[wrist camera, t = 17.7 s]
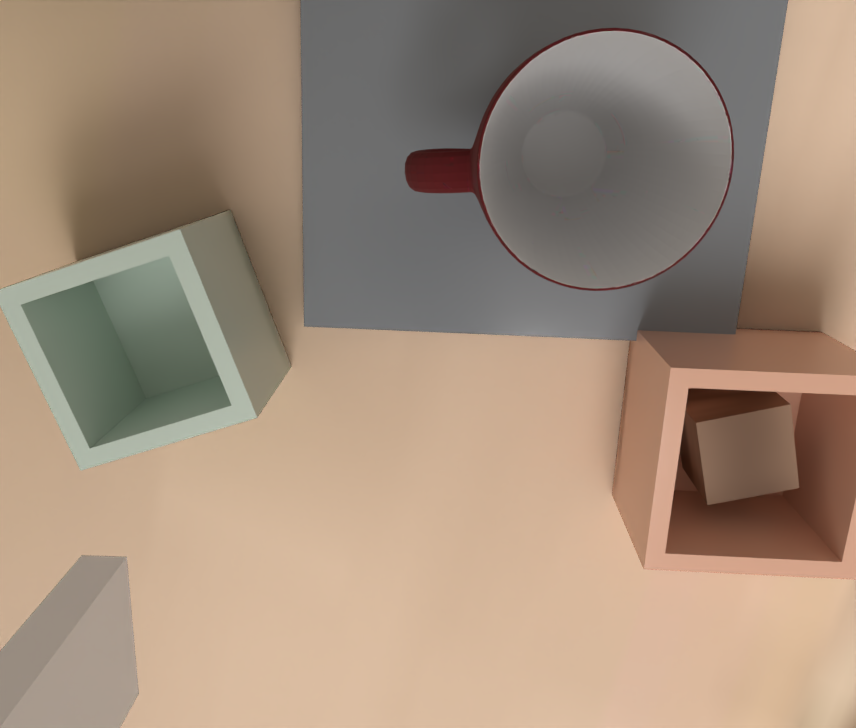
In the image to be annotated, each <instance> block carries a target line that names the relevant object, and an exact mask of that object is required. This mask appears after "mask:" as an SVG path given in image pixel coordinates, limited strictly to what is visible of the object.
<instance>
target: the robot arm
mask: <svg viewBox="0 0 856 728" xmlns="http://www.w3.org/2000/svg"><path fill="white" fill-rule="evenodd" d="M138 694H139V690H138V679H137V668H136V656H135V645H134V633H133V622H132V610H131V599H130V587H129V576H128V564H127V557H116V556H89V555H82V556H81V557H80V558H79V559H78V560H77V562H76V563H75V564H74V565H73V566H72V567H71V569H70V570H69V571H68V572H67V573H66V574H65V576H64V577H63V578H62V579H61V580H60V581H59V583H58V584H57V585H56V586H55V587H54V588H53V590H52V591H51V592H50V593H49V594H48V595H47V597H46V598H45V599H44V600H43V601H42V602H41V604H40V605H39V606H38V607H37V608H36V610H35V611H34V612H33V613H32V614H31V615H30V617H29V618H28V619H27V620H26V621H25V622H24V624H23V625H22V626H21V627H20V628H19V629H18V631H17V632H16V633H15V634H14V635H13V636H12V638H11V639H10V640H9V641H8V642H7V643H6V645H5V646H4V647H3V648H2V649H1V650H0V728H120V727H121V725H122V723H123V722H124V720H125V718H126V716H127V714H128V712H129V710H130V709H131V707H132V705H133V703H134V701H135V699H136V698H137V696H138Z"/></svg>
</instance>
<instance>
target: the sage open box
mask: <svg viewBox="0 0 856 728" xmlns="http://www.w3.org/2000/svg"><path fill="white" fill-rule="evenodd" d="M0 307H1V309H2V311H3V313H4V315H5V317H6V319H7V321H8V323H9V325H10V327H11V329H12V331H13V333H14V335H15V337H16V339H17V341H18V343H19V346H20V348H21V350H22V352H23V354H24V356H25V358H26V360H27V362H28V364H29V366H30V368H31V370H32V372H33V374H34V376H35V378H36V380H37V382H38V384H39V386H40V388H41V391H42V393H43V395H44V397H45V399H46V401H47V403H48V405H49V407H50V409H51V411H52V413H53V415H54V417H55V419H56V421H57V423H58V425H59V427H60V429H61V431H62V433H63V436H64V438H65V440H66V442H67V444H68V446H69V448H70V450H71V452H72V454H73V456H74V458H75V460H76V462H77V464H78V466H79V468H80V470H85V469H88V468H91V467H95V466H98V465H101V464H105V463H108V462H111V461H115V460H118V459H121V458H125V457H128V456H131V455H135V454H138V453H141V452H145V451H148V450H151V449H155V448H158V447H161V446H165V445H168V444H171V443H175V442H178V441H181V440H185V439H188V438H191V437H195V436H198V435H201V434H205V433H208V432H211V431H215V430H218V429H221V428H225V427H228V426H231V425H235V424H238V423H241V422H245V421H248V420H251V419H255V418H257V417H258V416H259V414H260V413H261V411H262V410H263V408H264V407H265V405H266V404H267V402H268V401H269V399H270V398H271V396H272V395H273V393H274V392H275V390H276V389H277V388H278V386H279V385H280V383H281V382H282V380H283V379H284V377H285V376H286V374H287V373H288V371H289V370H290V368H291V364H290V362H289V359H288V356H287V354H286V351H285V349H284V346H283V344H282V341H281V339H280V336H279V333H278V331H277V328H276V326H275V323H274V321H273V318H272V315H271V313H270V310H269V308H268V305H267V303H266V300H265V297H264V295H263V292H262V290H261V287H260V285H259V282H258V279H257V277H256V274H255V272H254V269H253V267H252V264H251V261H250V259H249V256H248V254H247V251H246V249H245V246H244V243H243V241H242V238H241V236H240V233H239V231H238V228H237V226H236V223H235V220H234V218H233V215H232V213H231V210H228V211H225V212H222V213H219V214H216V215H213V216H210V217H207V218H204V219H201V220H198V221H195V222H192V223H189V224H187V225H184V226H181V227H178V228H175V229H172V230H169V231H166V232H163V233H160V234H157V235H154V236H151V237H148V238H145V239H142V240H139V241H136V242H133V243H130V244H127V245H124V246H121V247H118V248H115V249H112V250H109V251H106V252H103V253H100V254H97V255H94V256H91V257H88V258H85V259H82V260H79V261H76V262H73V263H71V264H68V265H65V266H62V267H60V268H57V269H54V270H51V271H49V272H46V273H43V274H40V275H38V276H35V277H32V278H29V279H27V280H24V281H21V282H18V283H16V284H13V285H10V286H7V287H5V288H2V289H0Z"/></svg>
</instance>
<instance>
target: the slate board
mask: <svg viewBox="0 0 856 728" xmlns="http://www.w3.org/2000/svg"><path fill="white" fill-rule="evenodd" d="M787 4H788V0H301V85H302V177H303V268H304V326H306V327H329V328H353V329H376V330H399V331H422V332H446V333H469V334H492V335H515V336H538V337H562V338H585V339H608V340H631V341H636V339H637V331H638V330H642V331H666V332H689V333H712V334H736V328H737V321H738V315H739V309H740V302H741V296H742V290H743V283H744V277H745V271H746V264H747V258H748V252H749V245H750V239H751V232H752V226H753V220H754V213H755V207H756V201H757V194H758V188H759V182H760V175H761V169H762V163H763V156H764V150H765V144H766V137H767V131H768V125H769V118H770V112H771V105H772V99H773V93H774V86H775V80H776V74H777V67H778V61H779V55H780V48H781V42H782V36H783V29H784V23H785V17H786V10H787ZM600 28H626V29H633V30H639V31H643V32H647V33H650V34H654V35H656V36H659V37H661V38H664V39H666V40H668V41H670V42H671V43H673V44H675V45H677V46H678V47H680V48H681V49H683V50H684V51H686V52H687V53H688V54H689V55H691V56H692V57H693V58H694V59H695V60H696V61H697V62H698V63H699V64H700V65H701V66H702V67H703V68H704V69H705V70H706V71H707V73H708V74H709V75H710V77H711V78H712V80H713V81H714V83H715V84H716V86H717V88H718V89H719V91H720V93H721V95H722V97H723V100H724V102H725V104H726V107H727V110H728V113H729V116H730V120H731V125H732V130H733V139H734V163H733V172H732V177H731V182H730V186H729V190H728V193H727V196H726V199H725V201H724V204H723V206H722V208H721V210H720V213H719V215H718V217H717V218H716V220H715V222H714V223H713V225H712V227H711V228H710V230H709V231H708V233H707V234H706V235H705V237H704V238H703V239H702V240H701V242H700V243H699V244H698V245H697V246H696V247H695V248H694V249H693V250H692V251H691V252H690V253H689V254H688V255H687V256H686V257H685V258H684V259H682V260H681V261H680V262H679V263H677V264H676V265H675V266H673V267H672V268H670V269H669V270H667V271H666V272H664V273H662V274H660V275H658V276H656V277H655V278H652V279H650V280H648V281H645V282H643V283H640V284H637V285H634V286H631V287H626V288H622V289H616V290H608V291H588V290H579V289H573V288H569V287H565V286H561V285H558V284H556V283H553V282H550V281H548V280H546V279H544V278H542V277H540V276H538V275H536V274H534V273H533V272H531V271H530V270H528V269H527V268H525V267H524V266H523V265H522V264H520V263H519V262H518V261H517V260H516V259H515V258H514V257H513V256H512V255H511V254H510V253H509V252H508V251H507V250H506V249H505V248H504V246H503V245H502V244H501V243H500V241H499V240H498V238H497V237H496V235H495V234H494V232H493V231H492V229H491V227H490V225H489V223H488V221H487V220H486V218H485V215H484V213H483V211H482V208H481V206H480V204H479V201H478V199H477V197H476V196H475V194H474V193H472V192H467V193H423V192H417V191H414V190H412V189H411V188H410V187H409V185H408V183H407V181H406V177H405V162H406V159H407V157H408V156H409V155H410V153H412V152H415V151H418V150H426V149H443V148H459V149H471V148H472V146H473V144H474V141H475V138H476V135H477V132H478V129H479V126H480V123H481V121H482V118H483V116H484V113H485V111H486V109H487V107H488V105H489V103H490V101H491V99H492V98H493V96H494V94H495V93H496V91H497V90H498V88H499V87H500V86H501V84H502V83H503V82H504V80H505V79H506V78H507V77H508V76H509V75H510V74H511V73H512V72H513V71H514V70H515V69H516V68H517V67H518V66H519V65H520V64H521V63H522V62H524V61H525V60H526V59H528V58H529V57H530V56H532V55H533V54H534V53H536V52H537V51H539V50H541V49H542V48H544V47H546V46H547V45H549V44H551V43H553V42H555V41H558V40H560V39H562V38H564V37H567V36H570V35H572V34H575V33H579V32H583V31H587V30H593V29H600Z"/></svg>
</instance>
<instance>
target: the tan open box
mask: <svg viewBox="0 0 856 728" xmlns="http://www.w3.org/2000/svg"><path fill="white" fill-rule="evenodd" d="M691 388H703V389H725V390H748V391H771V392H777V393H778V394H779V395H780V396H781V397H783V398H784V399H785V400H786V401H787V402H789V403H790V404H791V411H792V421H793V431H794V441H795V451H796V460H797V470H798V480H799V488H797V489H792V490H786V491H781V492H775V493H770V494H765V495H759V496H754V497H749V498H743V499H738V500H733V501H727V502H722V503H716V504H711V505H707V504H706V502H705V501H704V499H703V498H702V496H701V495H700V493H699V492H698V490H697V489H696V487H695V486H694V484H693V483H692V481H691V480H690V478H689V477H688V475H687V474H686V472H685V471H684V469H683V468H682V462H681V455H680V445H681V438H682V431H683V424H684V417H685V410H686V403H687V396H688V389H691ZM612 496H613V498H614V501H615V503H616V505H617V508H618V510H619V512H620V515H621V517H622V519H623V522H624V524H625V526H626V529H627V531H628V533H629V536H630V538H631V540H632V543H633V545H634V547H635V550H636V552H637V554H638V557H639V559H640V561H641V564H642V566H643V568H644V569H649V570H670V571H690V572H711V573H731V574H752V575H772V576H793V577H813V578H834V579H854V580H856V351H855V350H853V349H851V348H849V347H848V346H846V345H844V344H842V343H841V342H839V341H837V340H835V339H833V338H832V337H830V336H828V335H826V334H825V333H823V332H809V331H785V330H762V329H738V328H736V334H712V333H689V332H666V331H642V330H638V331H637V339H636V341H631V340H630V345H629V353H628V362H627V370H626V379H625V387H624V396H623V405H622V413H621V422H620V430H619V439H618V448H617V456H616V465H615V473H614V482H613V490H612Z"/></svg>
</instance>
